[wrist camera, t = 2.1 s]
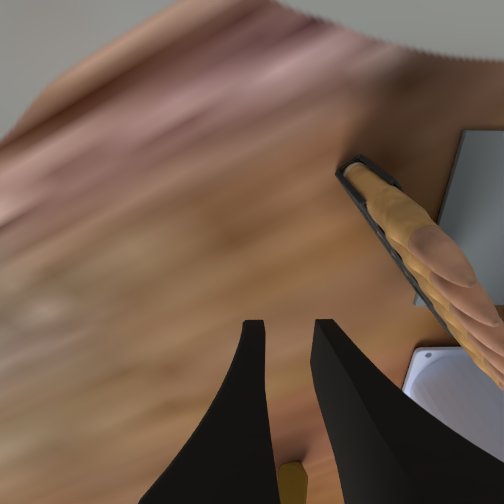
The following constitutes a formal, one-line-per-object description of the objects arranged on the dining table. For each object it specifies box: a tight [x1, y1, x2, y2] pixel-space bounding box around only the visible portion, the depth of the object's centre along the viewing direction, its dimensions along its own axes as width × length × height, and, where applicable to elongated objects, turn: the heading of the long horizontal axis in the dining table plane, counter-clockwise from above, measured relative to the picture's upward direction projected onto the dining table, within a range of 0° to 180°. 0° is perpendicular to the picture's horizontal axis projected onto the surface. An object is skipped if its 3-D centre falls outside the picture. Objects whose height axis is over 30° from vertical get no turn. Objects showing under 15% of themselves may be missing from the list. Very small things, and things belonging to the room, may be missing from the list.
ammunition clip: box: [335, 154, 504, 391], centre depth 16 cm, size 11×2×12 cm, turn 39°
